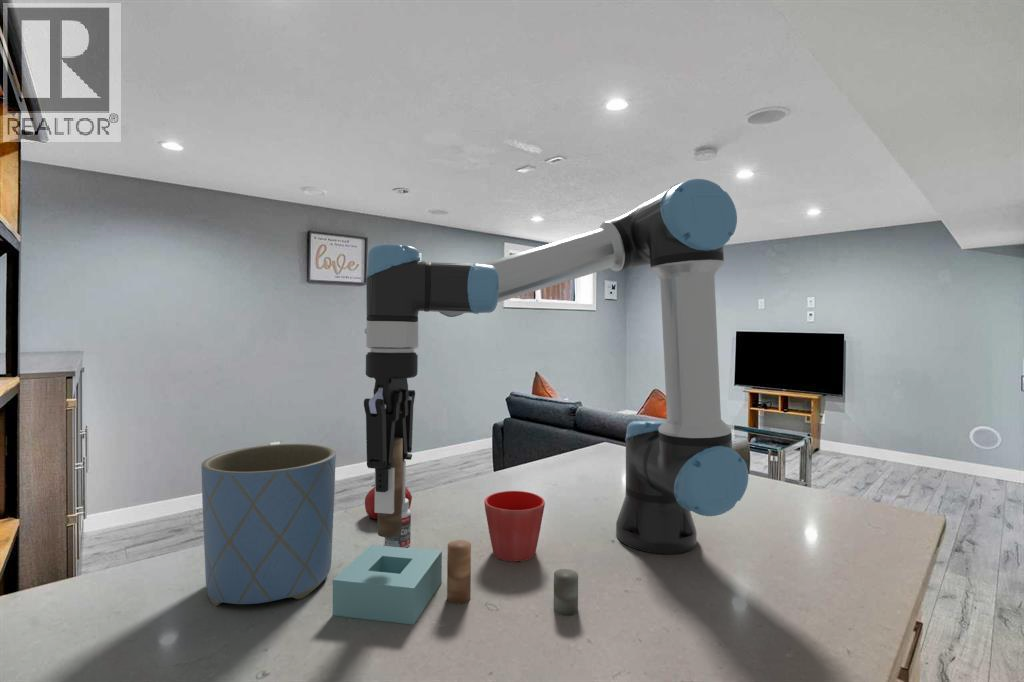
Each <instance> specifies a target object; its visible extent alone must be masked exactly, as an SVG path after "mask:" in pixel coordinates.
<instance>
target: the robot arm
mask: <svg viewBox="0 0 1024 682" xmlns="http://www.w3.org/2000/svg"><path fill="white" fill-rule="evenodd" d="M737 213H738V212H737V210H736V206H735V204H734V201H733V199H732V197H731V196H730V195H729V193H728V192H727V191H725V190H724V189H722V187H721V186H720V185H719V184H718V183H716V182H714V181H711V180H710V179H709V180H708V179H703V178H692V179H688V180H685V181H683V182H681V183H679V182H678V183H676V184H674V185H672V186H670V187H669V188H668V189H667V190H665V191H664V192H662V193H660V194H658V195H657V196H655V197H654V198H651V199H648V200H647V201H644V202H643V203H642V204H640V205H638V206H636V208H634V209H632V210H630V211H629V212H627V213H625V214H623V215H620V216H619V217H616V218H614V219H610V220H605V221H604V222H602V223H601V225H600V226H599V228H598V229H596V230H593V231H588V232H585V233H582V234H578V235H575V236H572V237H569V238H565V239H562V240H558V241H555V242H552V243H548V244H545V245H542V246H537V247H535V248H531V249H528V250H523V251H522V252H518V253H513V254H511V255H508V256H504V257H499V258H498V259H494V260H490V261H487V262H483V263H481V264H480V263H478V262H472V263H467V262H466V263H463V262H461V263H459V262H432V261H431V262H430V261H425V260H421V257H420V252H419V250H418V249H417V248H416V247H413V246H410V245H401V244H396V243H394V244H393V243H391V244H390V243H389V244H378V245H375V246H372V247H371V249H370V250H369V251H368V253H367V266H366V267H367V269H366V283H365V284H366V287H365V288H366V290H365V291H366V293H365V294H366V328H365V329H364V333H365V335H366V336H365V337H366V339H365V341H366V345H365V346H366V348H367V349H370V351H369V352H367V353H366V354H365V375H366V377H368V378H370V379H371V378H372V379H374V380H375V382H374V388H373V396H372V397H371V398H364V400H363V408H364V412H365V430H366V431H365V433H366V435H365V437H366V441H365V442H366V467H367V468H368V469H374V484H375V485H374V487H375V510H374V513H386V514H393V513H394V482H395V468H392V456H393V444H394V437H401V438H403V460H402V504H404V503H405V487H406V481H405V480H406V471H407V470H406V463H407V462H406V461H408V460H412V457H413V454H412V449H413V426H414V403H415V397H416V390H415V389H409V383H408V379H412V378H415V377H417V375H418V373H419V372H418V362H419V356H418V354H417V352H415V349H418V348H419V312H424V313H425V312H432V313H433V312H436V313H437V312H438V313H440V314H441V315H442V316H445V317H449V318H454V317H455V318H456V317H458V316H461V315H463V314H467V313H468V314H477V315H478V314H482V313H483V314H486V313H487V314H490V313H493V312H494V311H495V310H496V308H497V307H498V303H500V302H504V301H507V300H511V299H514V298H517V297H520V296H523V295H526V294H530V293H533V292H536V291H540V290H542V289H546V288H550V287H553V286H555V285H559V284H562V283H566V282H569V281H572V280H576V279H578V278H581V277H586V276H589V275H592V274H594V273H598V272H602V271H605V270H608V269H610V270H611V271H613V272H619V271H623V270H627V269H630V268H634V267H640V266H647V265H650V268H649V269H650V271H652V273H653V274H655V276H657V278H659V281H660V300H661V301H660V302H661V303H660V305H661V320H662V322H661V323H662V339H663V340H662V341H663V342H662V343H663V363H664V365H663V366H664V381H665V382H664V383H665V403H666V404H665V406H666V419H665V420H664V419H663V420H657V419H655V420H634V421H631V422H629V423H628V424H627V426H626V433H625V439H624V441H625V496H624V499H623V502H622V505H621V508H620V511H619V514H618V516H617V520H616V522H615V524H616V525H615V526H616V527H615V534H616V538H617V539H618V541H620V542H621V543H623V544H625V545H626V546H628V547H631V548H633V549H636V550H639V551H643V552H646V553H647V552H648V553H654V554H661V555H663V554H665V555H670V554H671V555H672V554H673V555H674V554H681V553H682V554H683V553H686V552H689V551H691V550H693V549H694V548H696V546H697V535H698V533H697V528H696V525H695V522H694V518H693V515H692V513H691V512H693V513H695V514H697V515H700V516H705V517H716V516H721V515H723V514H725V513H727V512H729V511H730V510H732V509H734V507H735V506H736V504H737V503H738V502H740V501H741V499H742V498H743V496H744V495H745V492H746V490H747V488H748V484H749V470H748V465H747V463H746V461H745V460H744V458H743V457H742V456H741V455H740V454H739V453H738V451H736V450H734V449H733V440H732V439H733V437H732V433H733V432H732V428H731V427H730V426H729V425H728V424H727V423H726V422H725V421H723V419H722V414H721V412H722V411H721V391H720V367H719V350H718V349H719V347H718V346H719V345H718V323H717V306H716V304H717V302H716V284H715V283H716V282H715V275H716V274H717V272H718V270H720V268H721V267H722V266H723V265H724V264H725V263H724V262H725V259H724V258H725V257H724V246H725V245H726V244H727V243H728V242H729V241H730V239H731V237H732V236H733V235H734V233H735V232H736V228H737V226H738V225H737V224H738V215H737Z"/></svg>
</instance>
